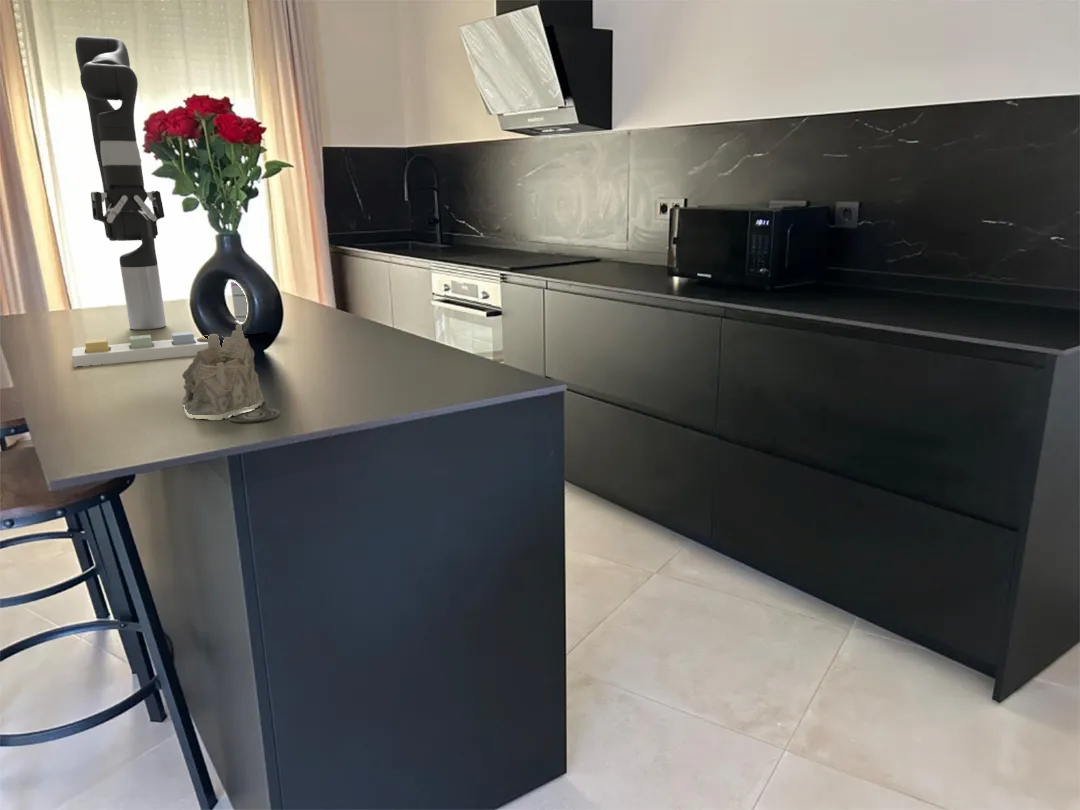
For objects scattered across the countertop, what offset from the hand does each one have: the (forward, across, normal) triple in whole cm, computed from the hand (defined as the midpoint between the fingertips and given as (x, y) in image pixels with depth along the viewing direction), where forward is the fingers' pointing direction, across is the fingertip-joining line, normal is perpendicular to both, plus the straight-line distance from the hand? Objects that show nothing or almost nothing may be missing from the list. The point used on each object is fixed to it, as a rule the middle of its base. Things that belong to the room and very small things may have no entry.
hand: (133, 239), depth 172 cm
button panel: (+27, -1, -2) cm, 27 cm away
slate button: (+25, -8, +1) cm, 27 cm away
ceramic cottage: (+27, +10, +51) cm, 59 cm away
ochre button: (+25, +9, -6) cm, 28 cm away
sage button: (+25, +1, -3) cm, 26 cm away
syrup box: (+27, -31, -10) cm, 42 cm away
